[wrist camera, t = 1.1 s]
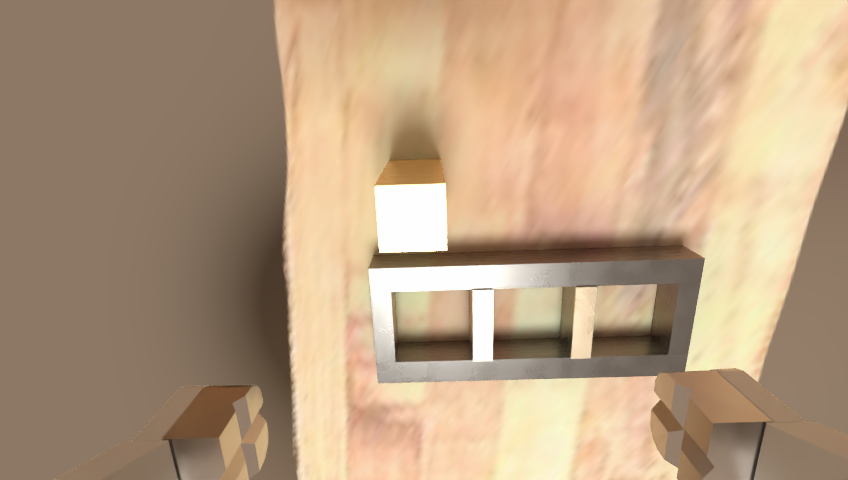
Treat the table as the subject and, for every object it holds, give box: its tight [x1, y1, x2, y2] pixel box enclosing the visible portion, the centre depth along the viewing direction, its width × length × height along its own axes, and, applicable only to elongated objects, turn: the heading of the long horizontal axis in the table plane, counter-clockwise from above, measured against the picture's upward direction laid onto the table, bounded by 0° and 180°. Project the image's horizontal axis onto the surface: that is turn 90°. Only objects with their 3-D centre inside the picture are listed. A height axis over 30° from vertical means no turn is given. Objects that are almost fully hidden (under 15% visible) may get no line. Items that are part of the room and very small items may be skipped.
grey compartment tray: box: [369, 246, 705, 383], centre depth 36 cm, size 10×26×3 cm, turn 92°
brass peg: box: [375, 159, 447, 253], centre depth 30 cm, size 4×4×10 cm
